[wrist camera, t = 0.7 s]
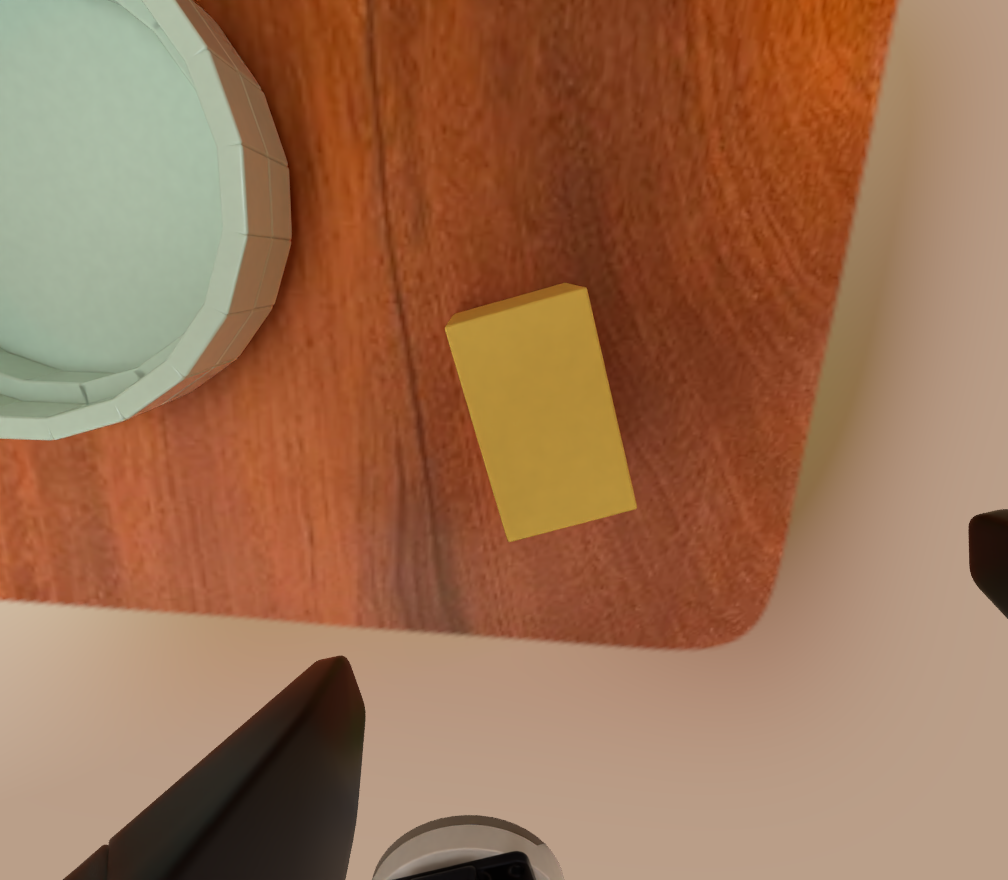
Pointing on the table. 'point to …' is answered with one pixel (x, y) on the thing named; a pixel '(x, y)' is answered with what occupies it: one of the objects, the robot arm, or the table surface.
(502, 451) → the sponge
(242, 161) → the bowl
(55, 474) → the table surface
